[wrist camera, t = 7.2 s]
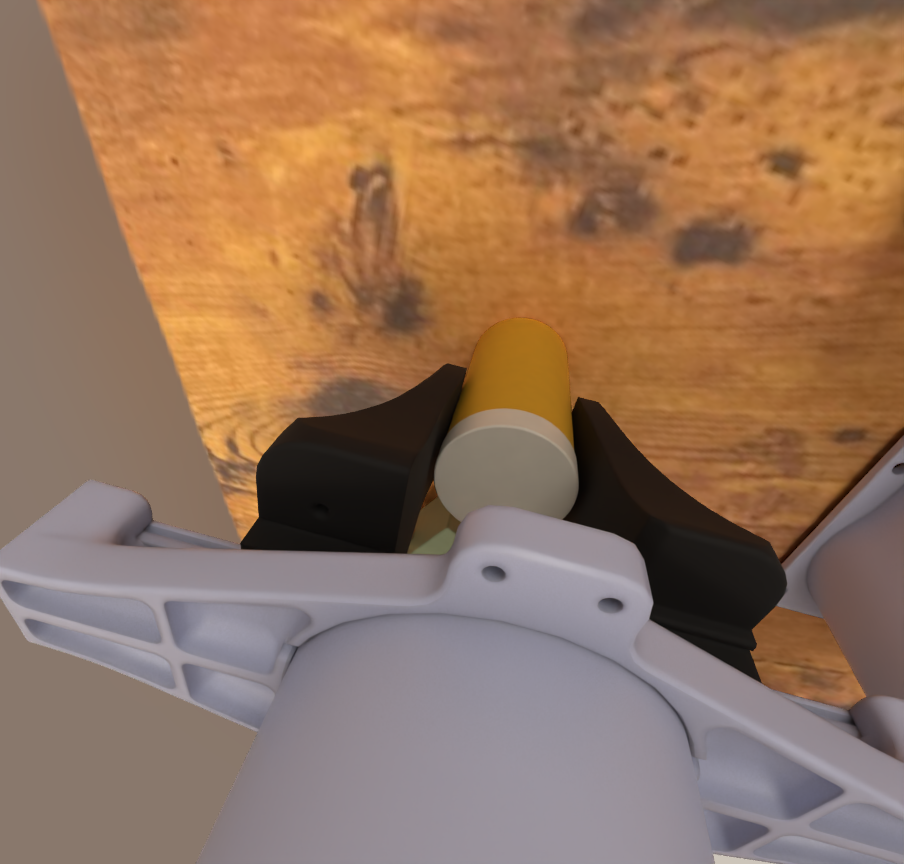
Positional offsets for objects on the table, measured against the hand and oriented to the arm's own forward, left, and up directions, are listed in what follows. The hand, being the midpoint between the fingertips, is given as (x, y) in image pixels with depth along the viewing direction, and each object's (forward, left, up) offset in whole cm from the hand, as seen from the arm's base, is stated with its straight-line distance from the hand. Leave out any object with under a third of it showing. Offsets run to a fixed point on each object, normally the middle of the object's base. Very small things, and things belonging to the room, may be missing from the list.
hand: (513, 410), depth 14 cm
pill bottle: (0, 0, -3) cm, 3 cm away
